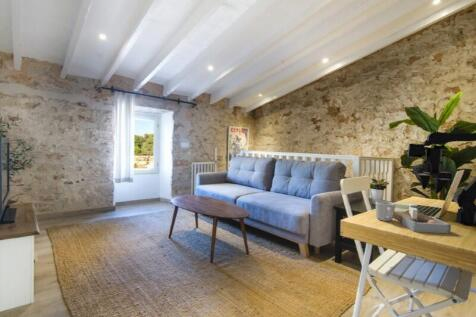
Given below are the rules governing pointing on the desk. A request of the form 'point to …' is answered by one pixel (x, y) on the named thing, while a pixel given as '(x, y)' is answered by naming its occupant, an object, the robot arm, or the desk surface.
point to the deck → (420, 217)
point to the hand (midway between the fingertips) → (430, 191)
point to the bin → (427, 226)
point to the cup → (385, 210)
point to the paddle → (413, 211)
